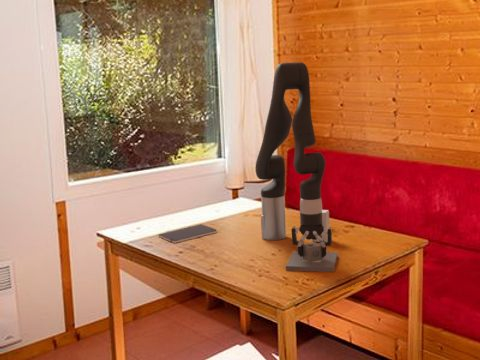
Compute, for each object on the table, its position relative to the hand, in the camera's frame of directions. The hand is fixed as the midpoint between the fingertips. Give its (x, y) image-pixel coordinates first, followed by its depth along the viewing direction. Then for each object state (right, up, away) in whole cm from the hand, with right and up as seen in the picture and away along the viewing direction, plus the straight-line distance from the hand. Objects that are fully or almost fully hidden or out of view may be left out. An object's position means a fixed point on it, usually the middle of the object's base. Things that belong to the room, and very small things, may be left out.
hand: (312, 256), depth 210 cm
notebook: (-47, +3, +43) cm, 64 cm away
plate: (0, -2, +1) cm, 2 cm away
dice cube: (0, -1, 0) cm, 1 cm away
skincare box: (+6, +3, +25) cm, 26 cm away
